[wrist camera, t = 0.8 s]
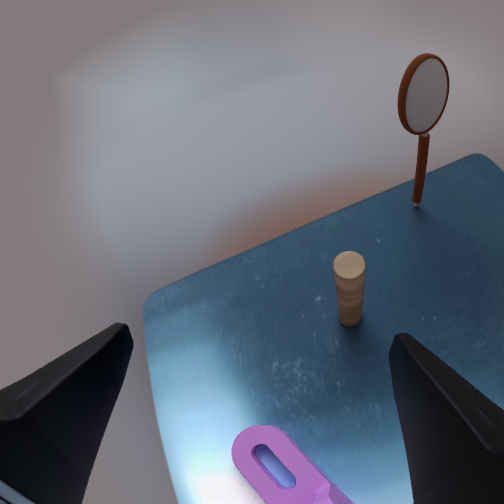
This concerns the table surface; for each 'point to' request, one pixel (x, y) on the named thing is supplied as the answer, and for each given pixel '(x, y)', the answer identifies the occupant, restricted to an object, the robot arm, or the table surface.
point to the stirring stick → (349, 286)
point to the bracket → (304, 470)
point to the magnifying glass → (422, 107)
